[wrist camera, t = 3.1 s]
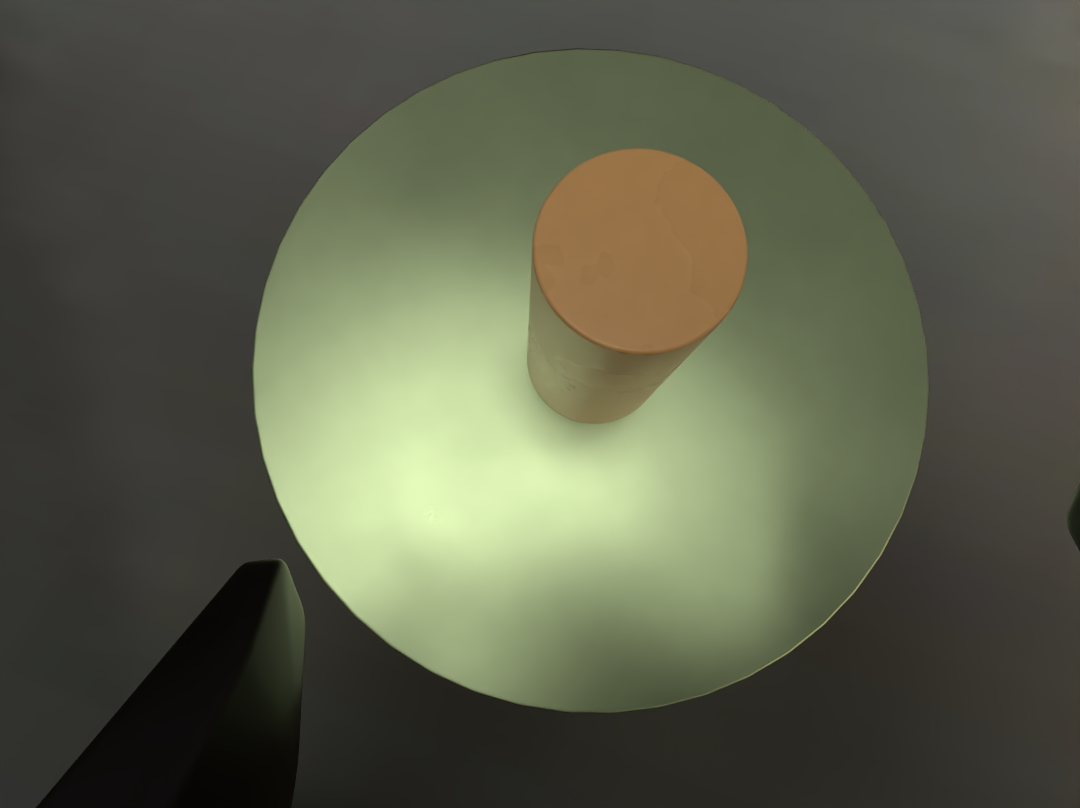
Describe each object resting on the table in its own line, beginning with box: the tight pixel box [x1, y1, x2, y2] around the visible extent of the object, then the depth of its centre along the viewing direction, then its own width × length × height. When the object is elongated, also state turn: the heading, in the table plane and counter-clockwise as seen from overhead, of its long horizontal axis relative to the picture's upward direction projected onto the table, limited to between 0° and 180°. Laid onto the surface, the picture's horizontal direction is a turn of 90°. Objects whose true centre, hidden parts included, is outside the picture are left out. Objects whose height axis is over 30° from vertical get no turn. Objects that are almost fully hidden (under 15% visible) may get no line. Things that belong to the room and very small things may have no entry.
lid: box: [251, 49, 929, 713], centre depth 13 cm, size 13×13×7 cm
